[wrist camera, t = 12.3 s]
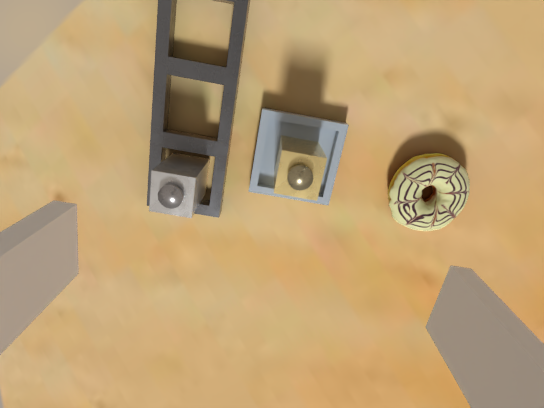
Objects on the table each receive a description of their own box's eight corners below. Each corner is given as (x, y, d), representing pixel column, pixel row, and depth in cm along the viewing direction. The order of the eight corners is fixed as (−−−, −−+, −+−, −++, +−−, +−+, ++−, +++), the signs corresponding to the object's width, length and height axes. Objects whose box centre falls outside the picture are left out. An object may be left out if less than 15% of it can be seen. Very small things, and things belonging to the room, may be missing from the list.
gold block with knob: (281, 135, 47) (282, 151, 38) (318, 142, 47) (328, 160, 38) (274, 171, 49) (273, 195, 40) (310, 177, 49) (317, 203, 40)
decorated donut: (385, 227, 52) (392, 239, 49) (382, 156, 49) (390, 163, 45) (458, 218, 52) (471, 229, 48) (461, 145, 48) (475, 152, 44)
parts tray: (262, 107, 46) (262, 109, 44) (345, 122, 47) (348, 125, 45) (249, 187, 50) (248, 191, 48) (326, 200, 51) (328, 205, 49)
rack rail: (165, -25, 41) (159, -29, 39) (251, -7, 42) (249, -11, 40) (151, 200, 51) (146, 205, 49) (221, 212, 52) (218, 217, 50)
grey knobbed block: (173, 152, 49) (149, 172, 39) (209, 158, 49) (194, 180, 40) (170, 186, 50) (146, 213, 41) (205, 192, 51) (190, 220, 41)
